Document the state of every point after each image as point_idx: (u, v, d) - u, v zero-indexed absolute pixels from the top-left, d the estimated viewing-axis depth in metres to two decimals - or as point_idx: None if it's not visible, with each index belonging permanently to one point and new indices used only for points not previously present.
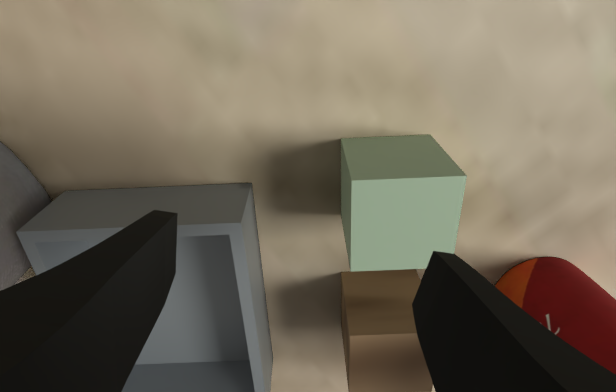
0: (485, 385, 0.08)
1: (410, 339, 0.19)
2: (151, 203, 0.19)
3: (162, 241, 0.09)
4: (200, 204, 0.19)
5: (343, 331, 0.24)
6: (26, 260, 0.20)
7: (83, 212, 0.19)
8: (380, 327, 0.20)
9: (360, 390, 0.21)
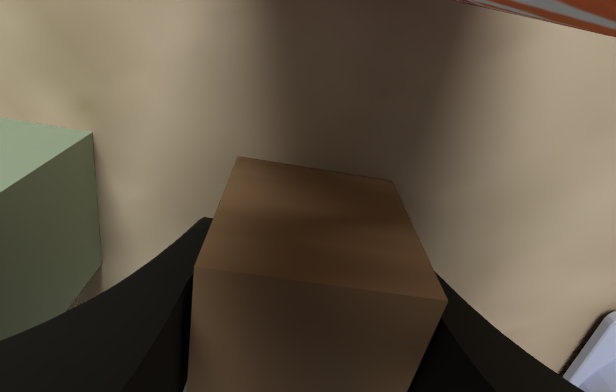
0: (424, 378, 0.08)
1: (212, 331, 0.07)
2: None
3: None
4: None
5: None
6: None
7: None
8: None
9: None
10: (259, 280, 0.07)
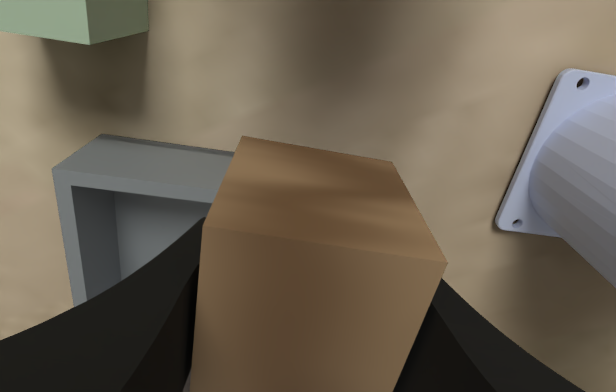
0: (425, 378, 0.08)
1: (219, 293, 0.07)
2: None
3: None
4: None
5: None
6: None
7: None
8: None
9: None
10: (265, 240, 0.07)
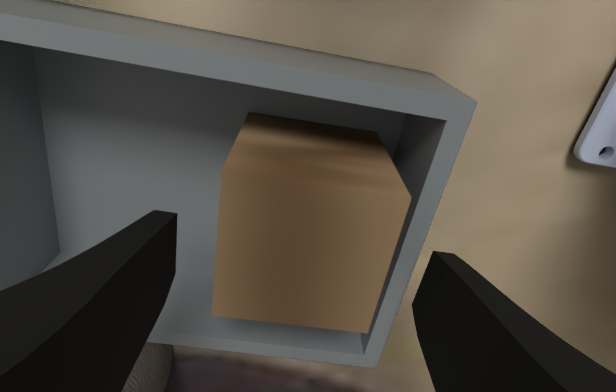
0: (485, 385, 0.08)
1: (234, 226, 0.10)
2: None
3: (162, 241, 0.09)
4: None
5: None
6: None
7: None
8: None
9: (360, 317, 0.11)
10: (270, 181, 0.09)
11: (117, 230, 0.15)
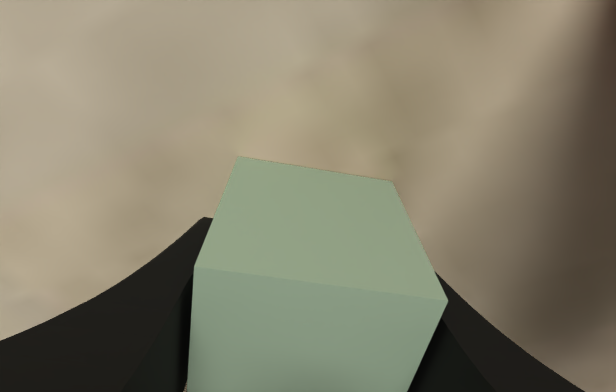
0: (425, 378, 0.08)
1: None
2: None
3: None
4: None
5: None
6: None
7: None
8: None
9: None
10: None
11: None
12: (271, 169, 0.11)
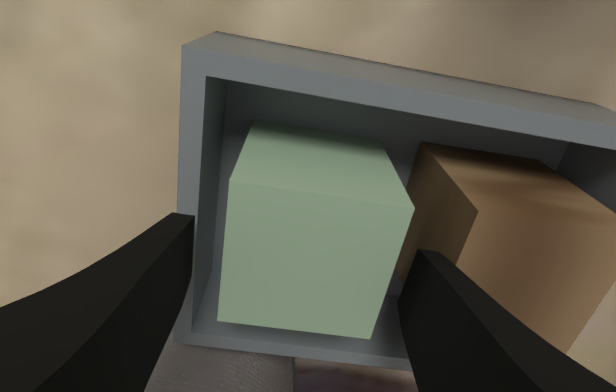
0: (464, 383, 0.08)
1: (472, 261, 0.10)
2: None
3: (181, 244, 0.09)
4: None
5: None
6: None
7: None
8: None
9: (562, 342, 0.12)
10: (519, 221, 0.10)
11: None
12: (281, 128, 0.13)
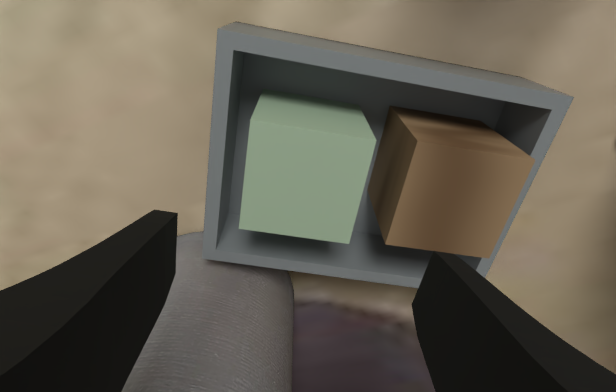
0: (485, 385, 0.08)
1: (416, 179, 0.15)
2: None
3: (162, 241, 0.09)
4: None
5: None
6: (256, 271, 0.20)
7: None
8: (393, 204, 0.16)
9: (486, 246, 0.16)
10: (446, 148, 0.14)
11: None
12: (284, 94, 0.17)
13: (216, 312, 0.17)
